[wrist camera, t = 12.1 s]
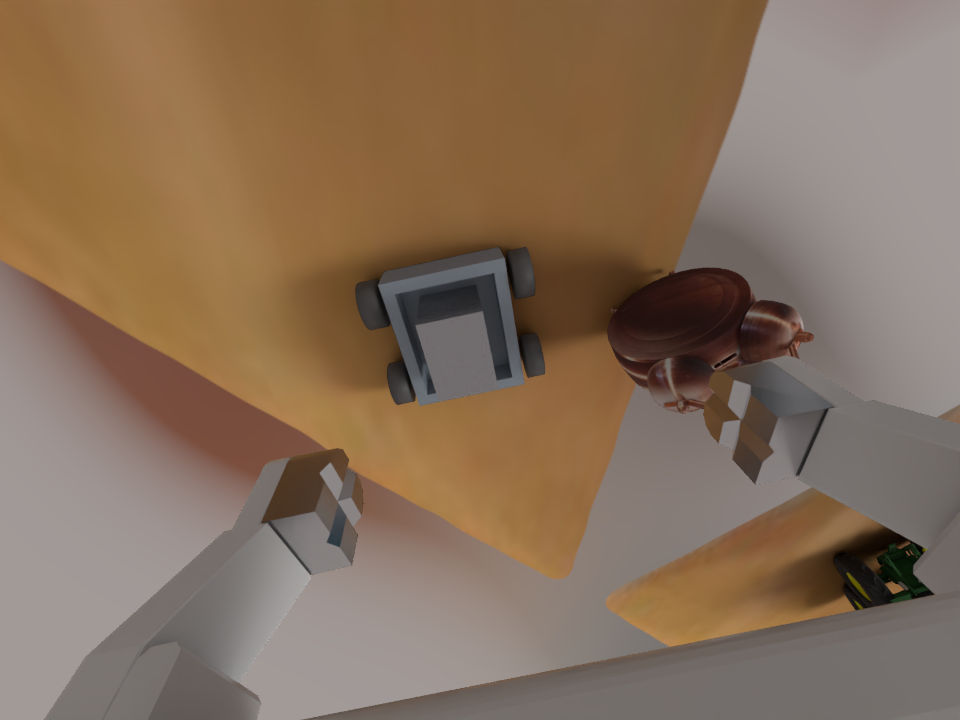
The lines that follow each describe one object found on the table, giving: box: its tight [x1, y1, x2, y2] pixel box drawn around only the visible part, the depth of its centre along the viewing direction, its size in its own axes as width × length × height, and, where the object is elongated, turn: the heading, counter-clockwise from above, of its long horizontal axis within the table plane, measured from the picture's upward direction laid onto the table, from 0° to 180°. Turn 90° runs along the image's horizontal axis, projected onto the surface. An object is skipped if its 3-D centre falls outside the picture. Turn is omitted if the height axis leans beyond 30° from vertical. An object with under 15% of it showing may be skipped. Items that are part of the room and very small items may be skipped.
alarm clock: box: [607, 268, 814, 414], centre depth 29 cm, size 11×5×15 cm, turn 126°
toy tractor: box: [834, 539, 935, 610], centre depth 58 cm, size 14×22×15 cm, turn 33°
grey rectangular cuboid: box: [415, 284, 498, 401], centre depth 31 cm, size 7×5×6 cm
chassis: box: [355, 247, 545, 406], centre depth 33 cm, size 12×14×4 cm
